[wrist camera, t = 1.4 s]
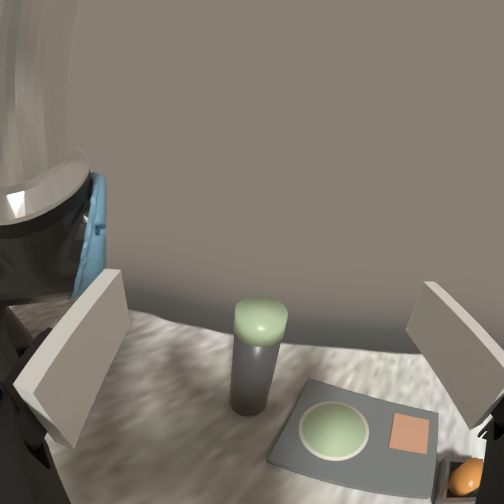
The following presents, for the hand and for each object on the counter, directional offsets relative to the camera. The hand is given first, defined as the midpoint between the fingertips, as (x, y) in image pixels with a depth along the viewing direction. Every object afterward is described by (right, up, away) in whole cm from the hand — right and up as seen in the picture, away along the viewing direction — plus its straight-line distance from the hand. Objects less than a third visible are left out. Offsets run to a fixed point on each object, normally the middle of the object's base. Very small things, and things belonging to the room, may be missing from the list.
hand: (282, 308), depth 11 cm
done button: (+21, -23, +3) cm, 31 cm away
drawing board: (+11, -18, +11) cm, 24 cm away
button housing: (+21, -23, +3) cm, 31 cm away
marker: (-2, -14, +16) cm, 22 cm away
